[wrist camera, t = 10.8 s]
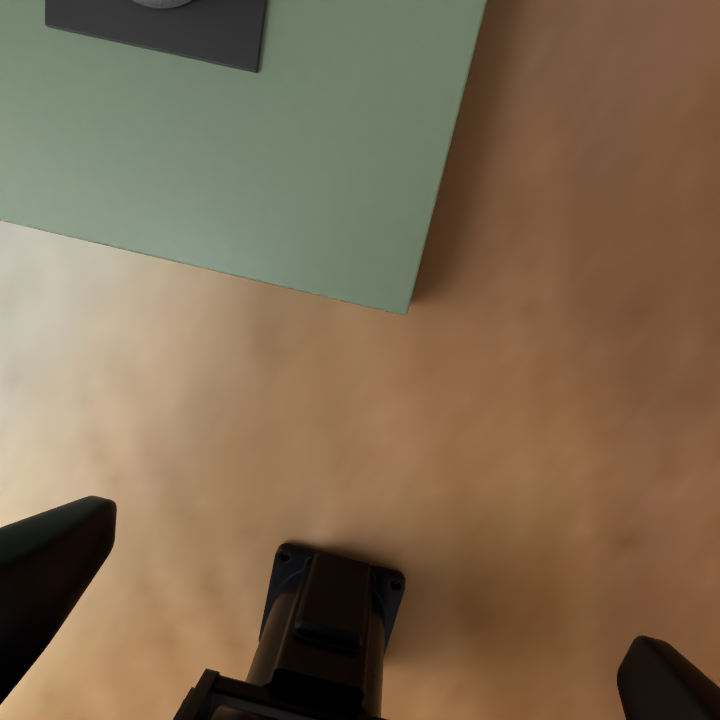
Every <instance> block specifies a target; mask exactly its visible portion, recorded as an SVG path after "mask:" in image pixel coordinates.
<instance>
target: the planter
mask: <svg viewBox="0 0 720 720" xmlns="http://www.w3.org/2000/svg"><path fill="white" fill-rule="evenodd" d="M132 1H134V2H136V3H139V4H141V5H144V6H147V7H151V8H161V9H163V8H173V7H177V6H180V5H183V4H186V3H188V2H190V1H191V0H132Z"/></svg>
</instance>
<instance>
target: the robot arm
mask: <svg viewBox="0 0 720 720" xmlns="http://www.w3.org/2000/svg"><path fill="white" fill-rule="evenodd" d="M116 512H117V508H116V503H115V502H114V501H112V500H109V499H105V498H102V497H98V496H88V497H85V498H82V499H79V500H76V501H74V502H71V503H68V504H65V505H62V506H60V507H57V508H54V509H51V510H48V511H46V512H43V513H40V514H37V515H34V516H32V517H29V518H26V519H23V520H20V521H18V522H15V523H12V524H9V525H6V526H4V527H1V528H0V705H1V703H2V702H3V701H4V700H5V698H6V697H7V696H8V695H9V693H10V692H11V691H12V690H13V688H14V687H15V686H16V685H17V684H18V682H19V681H20V680H21V679H22V677H23V676H24V675H25V674H26V672H27V671H28V670H29V669H30V667H31V666H32V665H33V664H34V662H35V661H36V660H37V659H38V657H39V656H40V655H41V653H42V652H43V651H44V650H45V648H46V647H47V646H48V644H49V643H50V642H51V640H52V639H53V637H54V636H55V634H56V633H57V632H58V630H59V629H60V627H61V626H62V624H63V623H64V621H65V620H66V618H67V617H68V615H69V614H70V612H71V611H72V609H73V608H74V606H75V605H76V603H77V602H78V600H79V599H80V597H81V596H82V594H83V593H84V591H85V590H86V588H87V587H88V585H89V584H90V582H91V581H92V579H93V578H94V576H95V575H96V573H97V572H98V570H99V569H100V567H101V566H102V564H103V563H104V561H105V560H106V558H107V557H108V555H109V554H110V552H111V550H112V547H113V545H114V540H115V527H116ZM283 553H287V554H289V556H285V555H284V554H283ZM393 581H397V582H399V583H397V584H395V583H392V582H393ZM404 590H405V577H404V575H403V574H402V573H400V572H398V571H394V570H390V569H387V568H383V567H379V566H375V565H371V564H367V563H363V562H359V561H355V560H351V559H347V558H343V557H339V556H335V555H331V554H328V553H324V552H320V551H316V550H312V549H308V548H304V547H300V546H296V545H292V544H286V543H285V544H281V545H280V546H279V547H278V550H277V552H276V555H275V559H274V564H273V569H272V575H271V580H270V585H269V590H268V595H267V600H266V605H265V610H264V615H263V620H262V625H261V631H260V636H259V645H258V648H257V650H256V653H255V656H254V659H253V662H252V664H251V667H250V670H249V673H248V676H247V679H246V681H245V682H244V681H240V680H236V679H233V678H229V677H225V676H221V675H220V672H218V671H214V670H210V669H206V670H205V671H204V673H203V675H202V676H201V678H200V680H199V682H198V683H197V685H196V687H195V688H193V687H192V688H191V689H190V691H189V693H188V695H187V696H186V698H185V699H184V700H183V702H182V705H181V707H180V708H179V710H178V712H177V713H176V715H175V717H174V719H173V720H388V719H384V718H381V702H382V681H383V660H384V654H385V651H386V648H387V644H388V641H389V638H390V635H391V632H392V628H393V625H394V622H395V619H396V616H397V612H398V609H399V606H400V603H401V599H402V596H403V593H404ZM617 686H618V690H619V694H620V698H621V702H622V706H623V710H624V713H625V717H626V720H720V688H719V687H718V686H717V685H716V684H715V683H713V682H712V681H711V680H710V679H709V678H708V677H707V676H705V675H704V674H703V673H702V672H701V671H700V670H699V669H697V668H696V667H695V666H694V665H693V664H692V663H691V662H689V661H688V660H687V659H686V658H685V657H684V656H683V655H681V654H680V653H679V652H678V651H677V650H676V649H675V648H673V647H672V646H671V645H670V644H669V643H667V642H665V641H663V640H659V639H655V638H651V637H647V636H638V637H636V638H635V639H634V640H633V642H632V644H631V646H630V648H629V650H628V652H627V653H626V655H625V657H624V659H623V661H622V663H621V665H620V667H619V669H618V673H617Z"/></svg>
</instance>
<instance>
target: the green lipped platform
mask: <svg viewBox="0 0 720 720" xmlns="http://www.w3.org/2000/svg"><path fill="white" fill-rule="evenodd" d="M486 3H487V0H191V1H190V2H188V3H186V4H183V5H180V6H177V7H173V8H163V9H161V8H151V7H147V6H144V5H141V4H139V3H136V2H134V1H132V0H0V221H5V222H9V223H13V224H17V225H22V226H26V227H30V228H34V229H39V230H43V231H47V232H51V233H56V234H60V235H64V236H68V237H73V238H77V239H81V240H85V241H90V242H94V243H98V244H102V245H107V246H111V247H115V248H119V249H124V250H128V251H132V252H136V253H141V254H145V255H149V256H153V257H158V258H162V259H166V260H170V261H175V262H179V263H183V264H187V265H192V266H196V267H200V268H204V269H209V270H213V271H217V272H221V273H226V274H230V275H234V276H238V277H243V278H247V279H251V280H255V281H260V282H264V283H268V284H272V285H277V286H281V287H285V288H289V289H294V290H298V291H302V292H306V293H311V294H315V295H319V296H324V297H328V298H332V299H336V300H341V301H345V302H349V303H353V304H358V305H362V306H366V307H370V308H375V309H379V310H383V311H387V312H392V313H396V314H400V315H404V316H405V315H407V313H408V310H409V306H410V302H411V298H412V294H413V290H414V286H415V282H416V278H417V274H418V270H419V266H420V262H421V258H422V255H423V251H424V247H425V243H426V239H427V235H428V231H429V227H430V223H431V219H432V215H433V211H434V207H435V204H436V200H437V196H438V192H439V188H440V184H441V180H442V176H443V172H444V168H445V164H446V160H447V156H448V152H449V149H450V145H451V141H452V137H453V133H454V129H455V125H456V121H457V117H458V113H459V109H460V105H461V101H462V97H463V94H464V90H465V86H466V82H467V78H468V74H469V70H470V66H471V62H472V58H473V54H474V50H475V46H476V42H477V39H478V35H479V31H480V27H481V23H482V19H483V15H484V11H485V7H486Z"/></svg>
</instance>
